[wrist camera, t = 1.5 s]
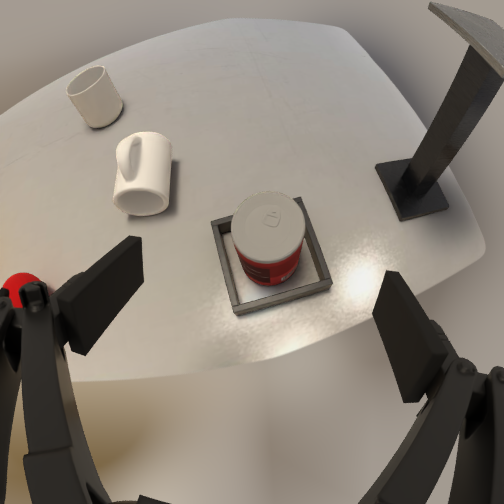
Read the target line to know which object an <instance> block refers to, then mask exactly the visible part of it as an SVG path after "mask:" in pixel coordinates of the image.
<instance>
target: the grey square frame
mask: <svg viewBox="0 0 504 504" xmlns="http://www.w3.org/2000/svg"><path fill="white" fill-rule="evenodd" d="M293 200H294V201H295V202H296V203H297V204H298V205H299V207H300V208H301V210H302V212H303V215H304V219H305V234H304V236H305V239H306V241H307V244H308V247H309V250H310V253H311V255H312V258H313V261H314V264H315V267H316V270H317V273H318V275H319V278H320V281H319V282H316V283H313V284H309V285H306V286H303V287H299V288H296V289H293V290H289V291H286V292H283V293H279V294H276V295H272V296H269V297H265V298H262V299H258V300H255V301H251V302H248V303H244V304H240V303H239V300H238V296H237V292H236V288H235V285H234V281H233V277H232V273H231V269H230V266H229V262H228V258H227V254H226V250H225V246H224V242H223V239H222V235H221V233H224V232H228V231H231V222H232V218H233V215H231V216H228V217H224V218H221V219H217V220H214V221H211V225H212V229H213V234H214V238H215V242H216V246H217V250H218V254H219V258H220V262H221V266H222V270H223V274H224V278H225V282H226V286H227V290H228V293H229V297H230V301H231V305H232V309H233V312H234V314H235V315H236V316H239V315H243V314H246V313H250V312H253V311H257V310H261V309H264V308H268V307H271V306H274V305H278V304H281V303H285V302H288V301H291V300H295V299H298V298H301V297H305V296H308V295H311V294H314V293H317V292H321V291H324V290H327V289H329V288H330V287H331V285H332V284H333V282H332V279H331V276H330V273H329V270H328V268H327V265H326V262H325V259H324V256H323V254H322V251H321V248H320V245H319V243H318V240H317V237H316V235H315V232H314V229H313V227H312V224H311V222H310V219H309V216H308V214H307V211H306V209H305V206H304V204H303V201H302V199H301V197H297V198H294V199H293Z"/></svg>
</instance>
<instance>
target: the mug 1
mask: <svg viewBox="0 0 504 504" xmlns="http://www.w3.org/2000/svg"><path fill="white" fill-rule="evenodd" d="M66 94H67V95H68V97H69V98H70V100H71V101H72V103H73V104H74V106H75V107H76V109H77V110H78V112H79V113H80V115H81V116H82V117H83V119H84V120H85V122H86V123H87V124H88V125H89V126H90V127H93V128H101V127H105V126H107V125H109V124H110V123H112V122H113V121H114V120H115V119H116V118H117V117H118V116H119V114H120V112H121V110H122V106H123V103H122V100H121V98H120V96H119V94H118V92H117V91H116V89H115V87H114V85H113V83H112V81H111V79H110V77H109V75H108V73H107V71H106V69H105V68H104V67H103V66H97V65H96V66H94V67H91V68H88V69H86V70H84V71H83V72H81V73H80V74H78V75H77V76H76V77H75V78H74V79H73V80H72V81H71V82H70V83H69V85H68V86H67V89H66Z"/></svg>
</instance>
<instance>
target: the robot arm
mask: <svg viewBox="0 0 504 504" xmlns="http://www.w3.org/2000/svg"><path fill="white" fill-rule="evenodd" d="M143 282H144V275H143V259H142V238H141V237H136V236H128V237H127V238H126V239H124V240H123V241H122V242H120V243H119V244H118V245H117V246H115V247H114V248H113V249H112V250H110V251H109V252H108V253H107V254H106V255H104V256H103V257H102V258H101V259H100V260H98V261H97V262H96V263H95V264H93V265H92V266H91V267H90V268H89V269H88V270H86V271H85V272H81V273H79V274H76V275H74V276H73V277H72V278H70V279H69V280H68V281H67V282H66V283H64V284H63V285H62V287H60V288H59V289H58V290H56V291H55V292H54V293H53V294H52V295H51V296H50V297H49V295H48V290H47V286H46V284H45V283H44V282H42V281H32V282H28V283H26V284H24V285H23V286H21V287H20V288H19V291H18V293H19V297H20V300H21V303H22V307H23V308H17V307H13V304H12V301H11V299H10V298H9V297H0V504H4V501H5V495H6V483H7V482H6V481H7V466H8V453H9V444H10V436H11V430H12V423H13V417H14V411H15V405H16V401H17V396H18V391H19V386H20V382H21V380H22V398H23V410H24V420H25V428H26V435H27V443H28V449H29V452H28V454H26V455H24V457H23V465H24V470H25V475H26V480H27V484H28V489H29V493H30V497H31V501H32V504H170V503H166V502H162V501H158V500H155V499H152V498H149V497H146V496H142V495H139V498H138V501H119V502H118V501H117V502H111V499H110V498H109V496H108V494H107V492H106V491H105V489H104V488H103V485H102V483H101V481H100V478H99V476H98V473H97V470H96V468H95V465H94V462H93V459H92V456H91V453H90V451H89V447H88V445H87V441H86V438H85V435H84V431H83V428H82V425H81V421H80V417H79V414H78V410H77V405H76V402H75V397H74V393H73V388H72V384H71V379H70V374H69V369H68V363H67V357H66V352H65V349H64V345H65V344H66V343H67V342H69V345H70V348H71V351H73V352H75V353H78V354H81V355H84V356H86V355H87V353H88V352H89V351H90V349H91V348H92V347H93V345H94V344H95V343H96V341H97V340H98V339H99V338H100V336H101V335H102V334H103V332H104V331H105V330H106V328H107V327H108V326H109V325H110V323H111V322H112V321H113V320H114V318H115V317H116V316H117V314H118V313H119V312H120V311H121V309H122V308H123V307H124V306H125V304H126V303H127V302H128V301H129V299H130V298H131V297H132V296H133V295H134V293H135V292H136V291H137V290H138V288H139V287H140V286H141V285H142V284H143ZM372 315H373V317H374V320H375V322H376V325H377V328H378V330H379V333H380V336H381V338H382V341H383V344H384V346H385V349H386V352H387V355H388V357H389V361H390V363H391V366H392V369H393V372H394V375H395V378H396V381H397V384H398V387H399V390H400V393H401V397H402V400H403V403H414V402H415V403H416V402H419V401H420V399H421V398H422V397H423V395H424V393H426V395H427V398H428V400H427V401H426V403H425V405H424V406H423V407H422V409H421V410H420V411H419V413H418V414H417V419H416V421H415V422H414V424H413V426H412V427H411V429H410V431H409V432H408V434H407V436H406V437H405V439H404V440H403V442H402V444H401V445H400V447H399V449H398V450H397V451H396V453H395V454H394V456H393V457H392V459H391V460H390V462H389V463H388V465H387V466H386V468H385V469H384V470H383V472H382V473H381V475H380V476H379V477H378V479H377V480H376V481H375V483H374V484H373V485H372V486H371V488H370V489H369V490H368V492H367V493H366V494H365V495H364V497H363V498H362V499H361V500H360V502H359V503H358V504H425V503H426V502H427V500H428V498H429V496H430V495H431V493H432V491H433V489H434V487H435V485H436V483H437V481H438V479H439V477H440V475H441V473H442V471H443V469H444V467H445V464H446V462H447V460H448V458H449V456H450V453H451V451H452V449H453V446H454V444H455V441H456V439H457V436H458V434H459V443H458V452H457V458H456V465H455V471H454V477H453V483H452V487H451V492H450V497H449V501H448V504H504V368H503V367H499V366H496V367H494V368H493V369H492V370H491V372H490V373H489V374H488V375H487V374H482V373H478V372H477V369H476V367H475V365H474V364H473V363H472V362H470V361H469V360H467V359H465V358H459V356H458V355H457V353H456V351H455V349H454V348H453V346H452V344H451V343H450V341H448V338H447V336H446V335H445V333H444V331H443V330H442V328H441V327H440V326H439V325H438V324H437V323H436V322H435V321H434V320H429V318H428V317H427V315H426V313H425V312H424V310H423V309H422V307H421V305H420V304H419V302H418V301H417V299H416V298H415V296H414V294H413V293H412V291H411V290H410V288H409V287H408V285H407V284H406V282H405V281H404V279H403V278H402V276H401V275H400V273H399V272H395V271H387V270H386V273H385V276H384V279H383V282H382V285H381V288H380V292H379V295H378V298H377V301H376V304H375V306H374V309H373V312H372ZM459 431H460V433H459Z"/></svg>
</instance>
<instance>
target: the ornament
mask: <svg viewBox="0 0 504 504" xmlns="http://www.w3.org/2000/svg"><path fill="white" fill-rule="evenodd" d="M32 281H40V280H39V278H37V277H35V276H34V275H32V274H29V273H17V274H15V275H12V276H11V277H10V278H8V279H7V281H6V282H5V283H4V285H3V287H2V288H1V289H0V297H9V298H10V299H11V301H12V304H13V307H17V308H23V307H22V303H21V300H20V297H19V293H18V291H19V288H20V287H21V286H23V285H24V284H26V283H28V282H32Z"/></svg>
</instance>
